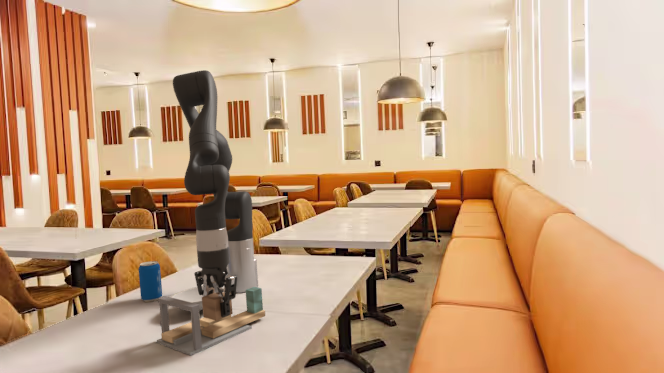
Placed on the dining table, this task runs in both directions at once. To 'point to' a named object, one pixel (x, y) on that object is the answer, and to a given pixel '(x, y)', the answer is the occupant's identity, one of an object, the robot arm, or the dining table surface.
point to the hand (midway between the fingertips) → (218, 313)
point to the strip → (239, 315)
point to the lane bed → (195, 339)
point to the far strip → (178, 332)
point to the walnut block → (213, 306)
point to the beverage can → (150, 281)
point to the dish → (190, 296)
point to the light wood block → (210, 321)
